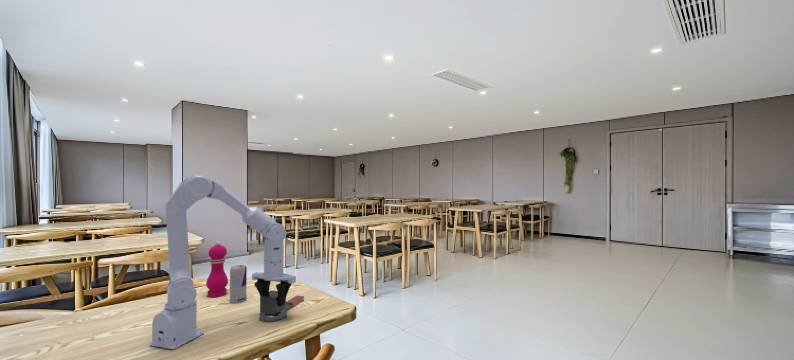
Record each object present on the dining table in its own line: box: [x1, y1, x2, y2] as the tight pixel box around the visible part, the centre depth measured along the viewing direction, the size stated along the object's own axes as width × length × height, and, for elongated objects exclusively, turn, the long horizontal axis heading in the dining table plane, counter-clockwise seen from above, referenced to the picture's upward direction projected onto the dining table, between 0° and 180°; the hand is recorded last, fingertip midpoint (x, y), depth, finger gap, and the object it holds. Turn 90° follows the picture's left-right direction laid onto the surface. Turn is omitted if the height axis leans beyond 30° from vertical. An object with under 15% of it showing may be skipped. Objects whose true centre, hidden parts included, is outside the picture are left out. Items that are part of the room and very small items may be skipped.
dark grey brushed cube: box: [259, 290, 287, 314], centre depth 102 cm, size 5×5×5 cm
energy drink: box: [229, 264, 248, 304], centre depth 116 cm, size 5×5×12 cm
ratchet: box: [259, 295, 305, 324], centre depth 108 cm, size 20×8×4 cm, turn 165°
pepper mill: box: [205, 240, 229, 298], centre depth 122 cm, size 7×7×20 cm
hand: (273, 304), depth 102 cm, fingers closed on dark grey brushed cube, 5 cm apart
